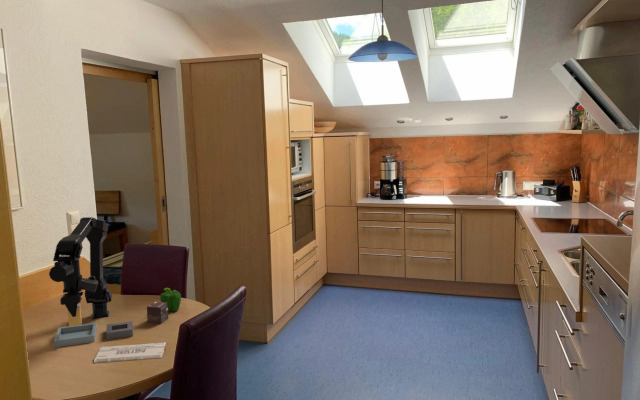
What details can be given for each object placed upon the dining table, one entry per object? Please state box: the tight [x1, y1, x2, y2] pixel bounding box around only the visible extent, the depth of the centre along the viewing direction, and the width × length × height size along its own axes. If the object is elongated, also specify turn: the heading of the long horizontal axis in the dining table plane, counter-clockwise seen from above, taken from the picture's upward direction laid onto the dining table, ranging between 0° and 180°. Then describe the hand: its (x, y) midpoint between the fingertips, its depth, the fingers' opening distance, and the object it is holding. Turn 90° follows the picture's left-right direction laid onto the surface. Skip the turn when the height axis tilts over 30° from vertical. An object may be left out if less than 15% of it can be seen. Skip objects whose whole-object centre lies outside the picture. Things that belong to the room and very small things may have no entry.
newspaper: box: [93, 341, 168, 364], centre depth 172 cm, size 23×12×2 cm, turn 99°
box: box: [146, 301, 169, 325], centre depth 199 cm, size 6×6×7 cm
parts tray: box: [53, 322, 98, 349], centre depth 183 cm, size 13×13×3 cm
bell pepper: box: [159, 287, 182, 312], centre depth 212 cm, size 8×8×10 cm
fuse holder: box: [105, 320, 134, 341], centre depth 187 cm, size 9×9×3 cm
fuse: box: [67, 303, 83, 326], centre depth 182 cm, size 3×4×7 cm
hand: (74, 315), depth 182 cm, fingers closed on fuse, 3 cm apart
